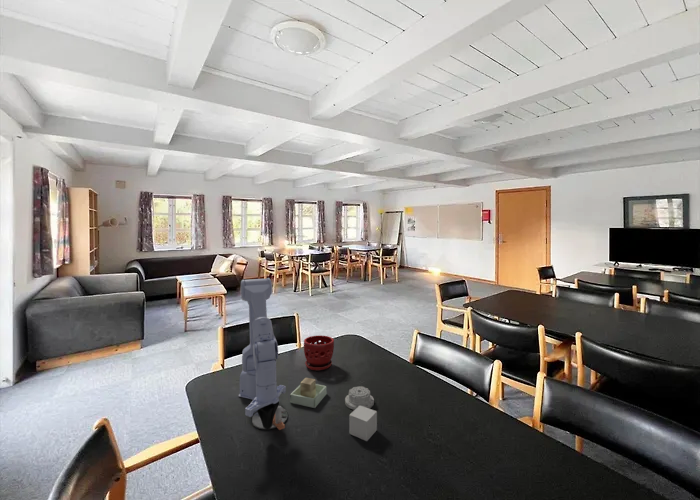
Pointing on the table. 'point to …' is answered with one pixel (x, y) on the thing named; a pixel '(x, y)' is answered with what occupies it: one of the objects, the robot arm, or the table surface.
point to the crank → (278, 419)
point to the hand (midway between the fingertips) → (267, 427)
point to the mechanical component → (359, 398)
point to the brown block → (308, 387)
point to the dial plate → (258, 423)
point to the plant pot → (318, 352)
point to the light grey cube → (363, 422)
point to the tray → (308, 401)
